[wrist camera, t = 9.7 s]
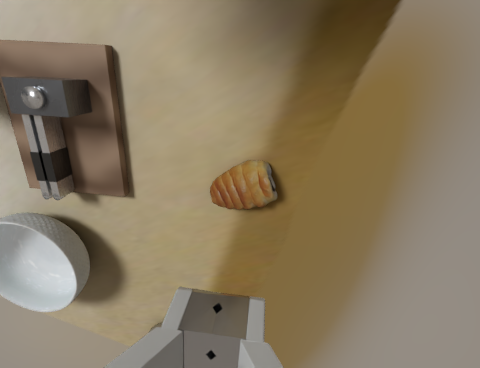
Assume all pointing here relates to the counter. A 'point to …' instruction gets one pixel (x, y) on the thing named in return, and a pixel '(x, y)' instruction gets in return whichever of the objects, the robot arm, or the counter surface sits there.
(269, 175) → the pastry
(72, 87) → the tong hinge
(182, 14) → the counter surface
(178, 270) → the counter surface
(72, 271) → the cereal bowl
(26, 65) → the walnut board
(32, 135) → the fixed tong arm
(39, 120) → the loose tong arm
